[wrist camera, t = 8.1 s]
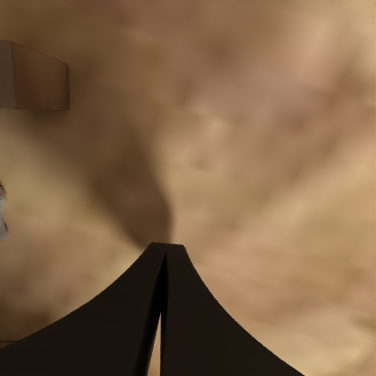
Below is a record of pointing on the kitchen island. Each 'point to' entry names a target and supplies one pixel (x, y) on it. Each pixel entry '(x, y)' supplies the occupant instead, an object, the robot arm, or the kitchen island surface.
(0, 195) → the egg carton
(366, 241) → the kitchen island surface
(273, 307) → the kitchen island surface
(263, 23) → the kitchen island surface
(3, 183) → the kitchen island surface
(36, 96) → the dock
